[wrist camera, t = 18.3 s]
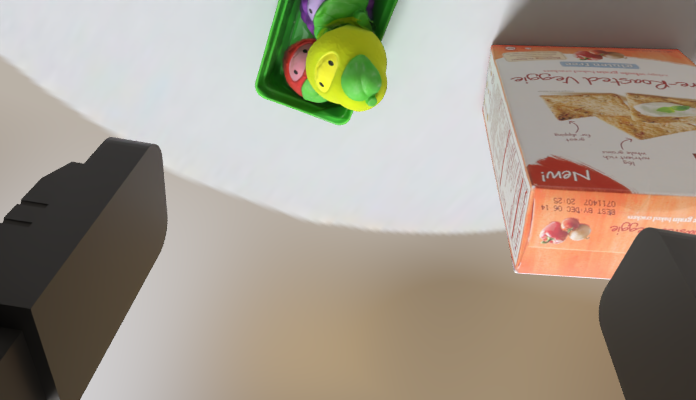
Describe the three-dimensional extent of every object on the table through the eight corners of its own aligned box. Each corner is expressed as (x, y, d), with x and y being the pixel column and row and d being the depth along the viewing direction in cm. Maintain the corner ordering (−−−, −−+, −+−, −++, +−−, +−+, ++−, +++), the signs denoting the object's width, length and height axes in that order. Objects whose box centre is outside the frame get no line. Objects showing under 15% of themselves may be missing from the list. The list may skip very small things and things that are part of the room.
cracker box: (679, 41, 41) (861, 202, 24) (655, 115, 45) (799, 300, 28) (488, 37, 43) (533, 186, 26) (479, 109, 46) (513, 282, 29)
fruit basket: (306, -72, 40) (272, -38, 30) (420, -26, 41) (420, 21, 31) (267, 69, 46) (229, 132, 37) (366, 106, 47) (353, 176, 38)
